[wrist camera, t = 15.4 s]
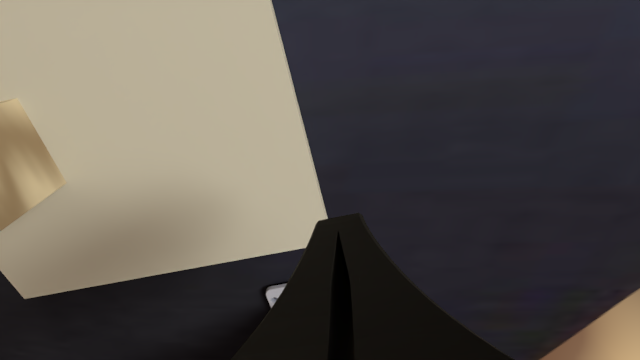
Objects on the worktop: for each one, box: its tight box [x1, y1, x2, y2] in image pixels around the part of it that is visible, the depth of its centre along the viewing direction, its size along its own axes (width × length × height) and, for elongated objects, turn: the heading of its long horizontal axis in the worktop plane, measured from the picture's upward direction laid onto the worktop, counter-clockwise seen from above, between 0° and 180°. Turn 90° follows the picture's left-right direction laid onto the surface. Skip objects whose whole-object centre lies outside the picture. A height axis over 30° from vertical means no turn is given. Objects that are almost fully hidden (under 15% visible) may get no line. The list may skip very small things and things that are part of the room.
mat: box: [0, 0, 328, 299], centre depth 19 cm, size 18×22×1 cm
